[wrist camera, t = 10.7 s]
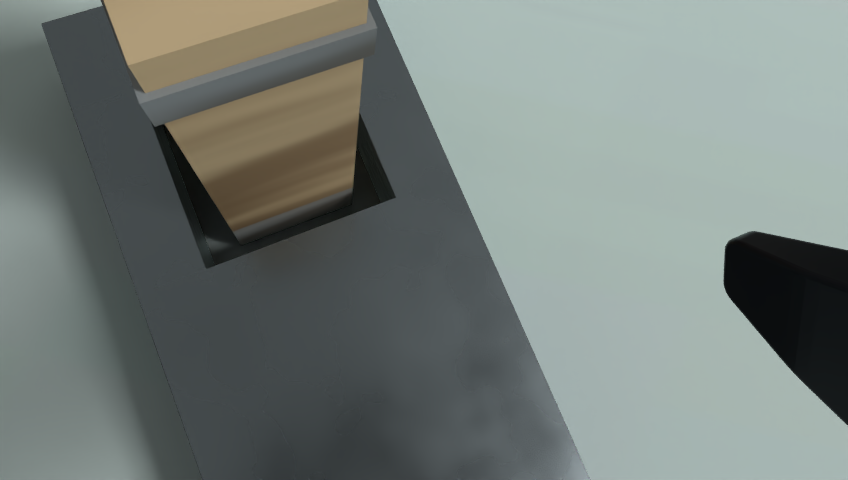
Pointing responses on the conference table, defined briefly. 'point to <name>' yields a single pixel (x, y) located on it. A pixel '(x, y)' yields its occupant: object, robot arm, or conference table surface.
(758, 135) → the conference table surface
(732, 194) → the conference table surface
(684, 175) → the conference table surface
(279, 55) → the tan square column
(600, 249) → the conference table surface
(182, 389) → the panel
